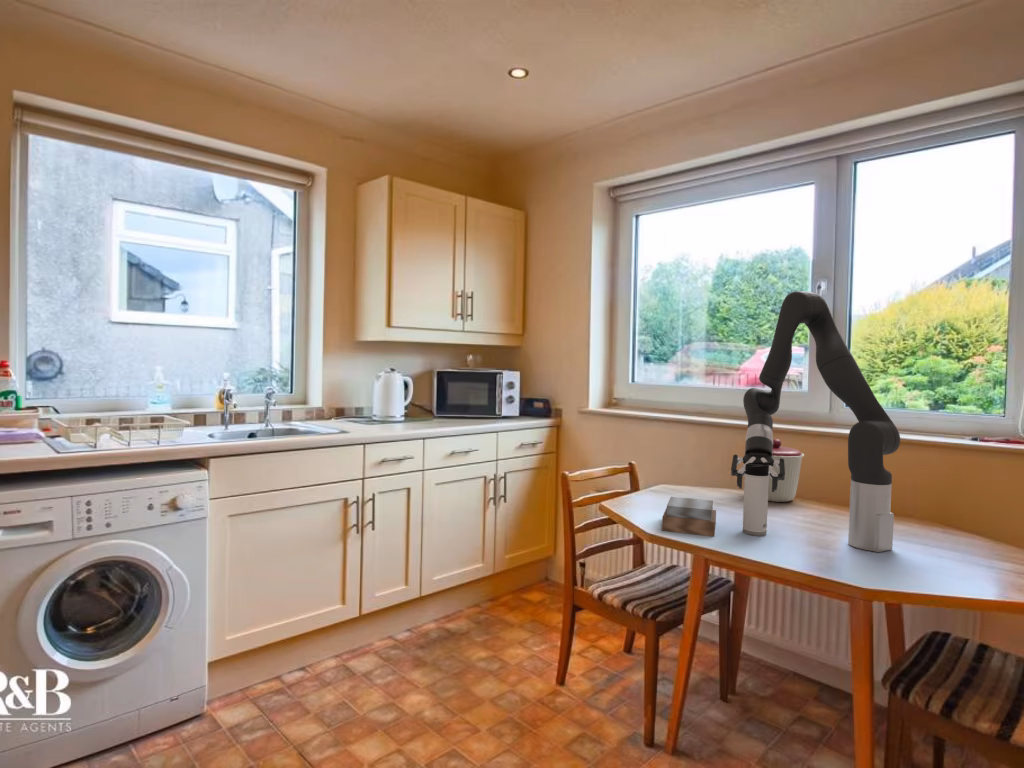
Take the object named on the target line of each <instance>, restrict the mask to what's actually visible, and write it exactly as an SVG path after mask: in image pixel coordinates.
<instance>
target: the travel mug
mask: <svg viewBox="0 0 1024 768" xmlns="http://www.w3.org/2000/svg"><path fill="white" fill-rule="evenodd" d="M769 465H770V463H769V462H765V463H764V462H754V463H748V464H746V466H745V475H744V486H743V487H744V488H743V513H742V515H743V516H742V533H744V534H746V535H749V536H755V537H763V536H766V535H767V530H768V529H767V528H768V506H769V504H768V503H769V501H768V485H769V478H768V477H769V473H768V472H769Z"/></svg>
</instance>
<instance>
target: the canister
mask: <svg viewBox="0 0 1024 768" xmlns="http://www.w3.org/2000/svg"><path fill="white" fill-rule="evenodd" d="M772 457H773V459H774V460H780V459H781V458H783V459H784V465H785V479H784V480H778V485H777V490H775V491H774V492H772V478H771V477H768V478H769V485H768V502H775V503H787V502H791V501H793V500H794V498H795V497H796V495H797V489H798V484H799V480H800V479H799V478H800V473H801V467H802V460H803V458H804V457H805V454H804V453H803V452H801V451H800V450H798V449H797V448H792V447H788V446H782V441H781V440H780V439H778V438H773V456H772ZM772 467H773V469H774V471H775V472H776V473H777V474H779V473H780V469H779V468H778V467H777V466H776V465H775V464H774V465H773V466H772Z"/></svg>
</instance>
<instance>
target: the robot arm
mask: <svg viewBox="0 0 1024 768" xmlns="http://www.w3.org/2000/svg"><path fill="white" fill-rule="evenodd" d="M801 324H804V325H805V326H806V328H808V330H809V332H810V334H811V335H812V338H813V339H814V340H813V341H814V343H815V363H816V367H817V370H818V372H819V373H820V376H821V377H822V379H823V381H824V383H825V385H826V386H827V387H828V389H829V390H830V391H831V392H832V393H833V394H834V395H835V396H836V397H837V398H839V400H841V402H843V403H844V404H845V405H846V406H847V407H848V408H849V409H850V411H852V413H853V414H854V416H855V418H856V419H857V421H858V422H856V423H855V424H853V425H852V426H851V428H850V430H849V433H848V438H847V464H848V465H847V467H848V470H849V472H850V489H849V490H850V493H849V511H848V513H849V514H848V516H849V517H848V538H847V543H848V545H850V546H851V547H854V548H857V549H861V550H865V551H869V552H870V551H871V552H874V553H875V552H876V553H882V552H886V551H891V550H893V545H894V544H893V539H894V523H895V513H893V512H892V511H891V507H892V506H891V503H892V502H891V501H892V486H893V485H892V484H893V474H892V473H891V471H889V470H887V469H886V468H885V466H884V456H887V455H891V454H894V453H895V452H897V451H898V450H899V448H900V444H901V435H900V432H899V430H898V428H897V427H896V424H895V423H894V421H893V420H892V419H891V417H890V416H889V415H888V413H887V412H886V411H885V409H884V408H883V407H882V405H881V403H880V402H879V401H878V400H877V397H876V395H875V393H874V392H873V390H872V388H871V386H870V385H869V383H868V381H867V380H866V377H865V376H864V374H863V373H862V370H861V368H860V367H859V365H858V363H857V362H856V359H855V358H854V356H853V354H852V352H851V351H850V350H849V348H848V346H847V344H846V342H845V340H844V339H843V336H842V334H841V332H840V331H839V330H838V328H837V326H836V323H835V321H834V318H833V316H832V314H831V311H830V308H829V306H828V304H827V302H826V300H825V299H824V297H823V296H822V295H820V294H819V293H817V292H812V291H802V290H794V291H791V292H789V293H788V294H787V295H786V296H785V297H784V299H783V301H782V303H781V307H780V310H779V314H778V319H777V323H776V325H775V331H774V334H773V340H772V344H771V346H770V349H769V353H768V355H767V358H766V360H765V362H764V365H763V367H762V369H761V370H760V371H761V372H760V374H759V378H758V380H759V382H760V383H762V385H764V386H766V387H768V388H770V389H771V390H770V391H766V390H764V389H759V388H757V387H751V388H749V389H747V390H746V392H745V393H744V395H743V408H744V411H745V413H746V415H745V416H746V419H747V430H746V435H745V447H744V454H743V455H744V456H743V457H742V456H738V455H737V454H733V455H732V463H731V469H730V474H731V476H732V477H736V486H737V487H738V488H739V489H741V490H742V489H743V478H744V477H745V466H746V464H748V463H754V462H764V463H765V462H769V463H770V465H769V472H768V473H769V477H771V478H772V492H774V491H775V490H777V485H778V480H784V479H785V465H784V459H783V458H781V459H780V460H774V459H773V457H772V456H773V439H774V433H773V426H774V425H773V422H774V421H773V417H772V415H775V414H776V413H777V412H778V411H779V408H780V403H781V394H782V389H783V385H784V381H785V380H786V377H787V374H788V372H789V370H790V368H791V365H792V359H793V339H794V336H795V333H796V331H797V329H798V327H799V325H801ZM741 463H743V465H742V466H741V467H740V468H739V469H737V467H738V466H739V465H740V464H741ZM774 464H775V465H776V466H777V467H778V468H779V469H780V473H779V474H777V473H776V472H775V471H774V469H773V467H772V466H773V465H774Z"/></svg>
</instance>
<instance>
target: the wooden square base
mask: <svg viewBox="0 0 1024 768" xmlns="http://www.w3.org/2000/svg"><path fill="white" fill-rule="evenodd" d="M713 505H714V500H712V499H711V500H710V499H702V498H690V497H689V498H688V497H680V496H670V498H669V500H668V502H667V504H666V508H665V510H664V512H663V514H662V521H661V523H662V524H661V527H662V528H661V531H662V532H663V531H664V532H670V533H678V534H690V535H698V536H707V537H715V534H716V533H715V532H716V524H717V509H714V508H713V507H714V506H713Z"/></svg>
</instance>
